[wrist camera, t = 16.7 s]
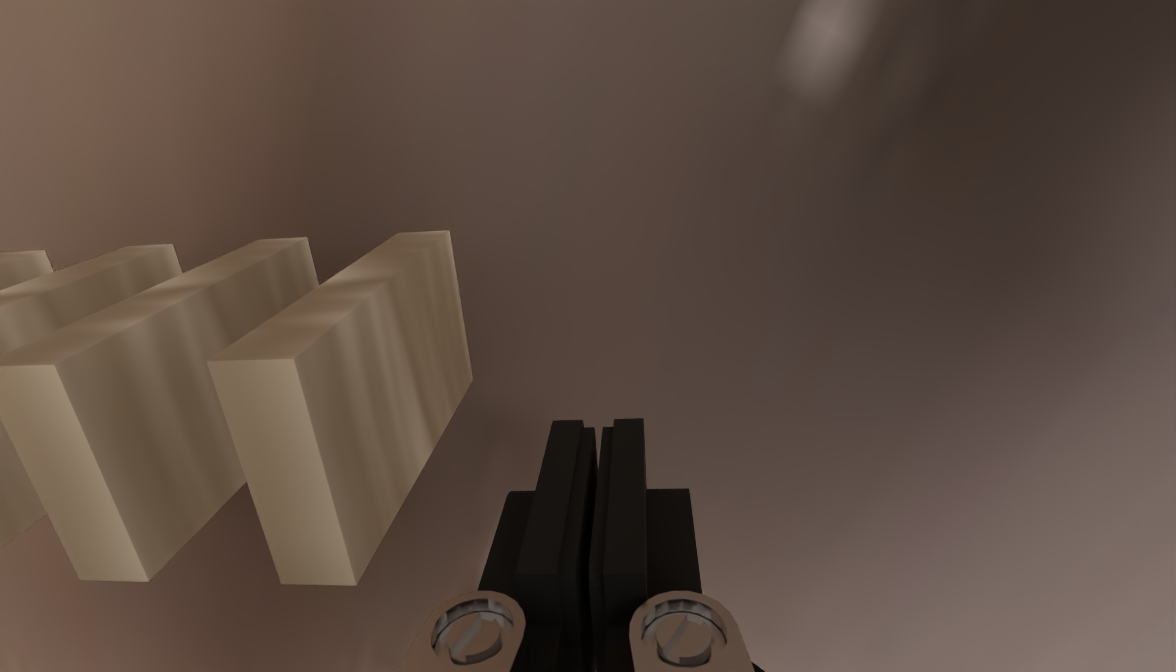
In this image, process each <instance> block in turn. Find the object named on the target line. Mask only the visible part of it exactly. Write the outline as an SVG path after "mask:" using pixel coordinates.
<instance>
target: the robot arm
mask: <svg viewBox="0 0 1176 672" xmlns="http://www.w3.org/2000/svg"><path fill="white" fill-rule="evenodd" d="M397 672H765V671H764V670H762V669H761V668H759V667H758V666H757V665H755V664H754V663H752V662H751V660H750V657H749V655H748V652H747V649H746V647H745V644H744V641H743V639H742V636H741V633H740V630H739V628H738V625H737V623H736V622H735V620H734V618H733V616H732V615H731V613H730V612H729V611H728V610H727V609H726V608H725V607H724V606H723V605H721V604H720V603H719V602H718V601H716V600H714V599H712V598H710V597H708V596H706V595H704V594H702V589H701V581H700V573H699V565H698V557H697V549H696V541H695V532H694V524H693V516H692V508H691V500H690V492H689V489H647V485H646V462H645V439H644V419H643V418H637V419H614V427H603V431H602V440H601V450H600V460H599V470H598V465H597V451H596V438H595V429H594V427H587V428H584V423H583V420H559V421H553V423H552V426H551V430H550V434H549V438H548V442H547V446H546V450H545V454H544V458H543V462H542V466H541V470H540V474H539V478H538V482H537V486H536V490H535V491H511V492H509V494H508V496H507V498H506V501H505V504H504V508H503V511H502V514H501V517H500V520H499V524H498V527H497V530H496V533H495V536H494V540H493V543H492V546H491V549H490V552H489V556H488V559H487V562H486V565H485V568H484V571H483V575H482V578H481V581H480V584H479V587H478V591H474V592H470V593H466V594H461V595H459V596H457V597H455V598H453V599H451V600H449V601H446V602H445V603H444V604H443V605H441V606H440V607H439V608H437V609H436V610H435V611H434V612H433V613H432V614H431V615H430V617H429V618H428V619H427V621H426V622H425V623H424V625H423V627H422V628H421V630H420V632H419V633H418V635H417V637H416V639H415V640H414V642H413V644H412V646H411V647H410V649H409V651H408V653H407V654H406V656H405V658H404V659H403V661H402V663H401V665H400V666H399V668H398V670H397Z"/></svg>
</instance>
